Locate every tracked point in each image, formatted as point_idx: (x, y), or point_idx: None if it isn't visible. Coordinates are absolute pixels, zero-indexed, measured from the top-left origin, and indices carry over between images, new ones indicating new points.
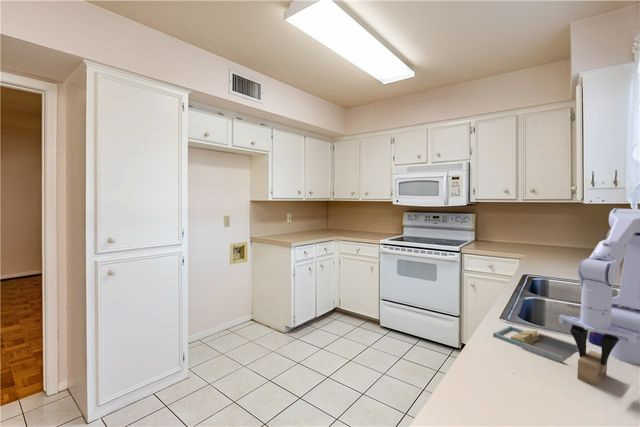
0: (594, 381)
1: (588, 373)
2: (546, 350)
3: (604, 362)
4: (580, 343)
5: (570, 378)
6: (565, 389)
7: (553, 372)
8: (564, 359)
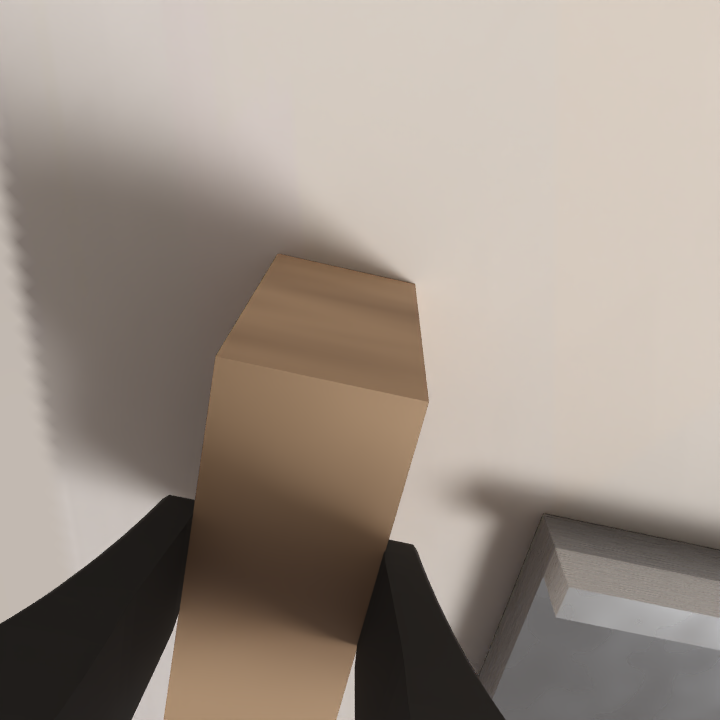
0: (269, 284)
1: (317, 317)
2: (670, 705)
3: (149, 513)
4: (423, 687)
5: (468, 369)
6: (505, 86)
7: (604, 383)
8: (528, 628)
